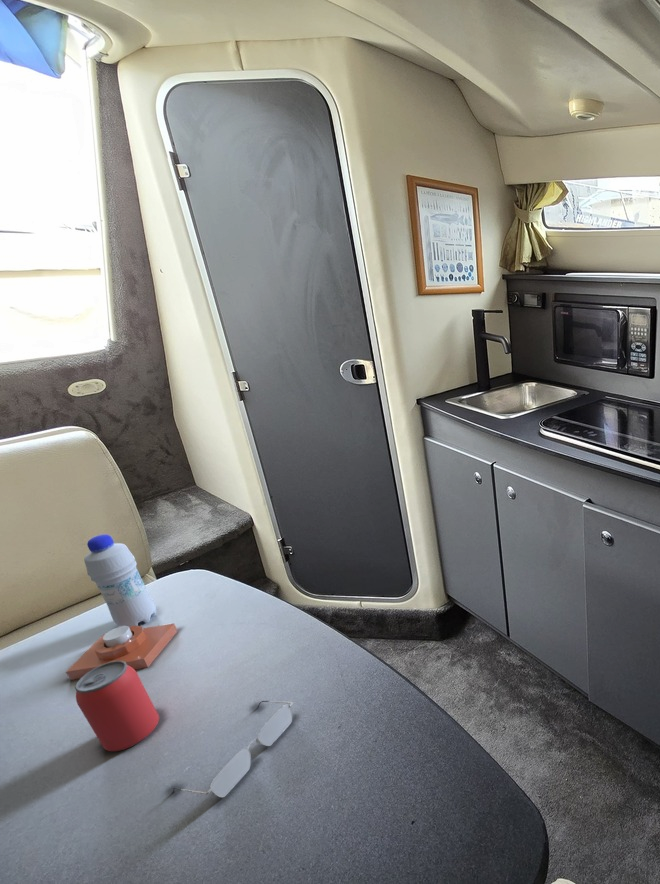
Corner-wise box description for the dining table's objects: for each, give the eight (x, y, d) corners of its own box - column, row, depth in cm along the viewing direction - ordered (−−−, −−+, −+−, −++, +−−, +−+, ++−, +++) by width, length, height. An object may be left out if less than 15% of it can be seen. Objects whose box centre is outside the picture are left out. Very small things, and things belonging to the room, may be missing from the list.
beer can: (104, 733, 76) (70, 675, 72) (159, 706, 80) (130, 650, 76) (104, 763, 72) (68, 703, 67) (162, 733, 76) (131, 674, 71)
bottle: (108, 630, 97) (63, 545, 90) (144, 607, 103) (105, 525, 96) (133, 635, 96) (89, 549, 88) (168, 611, 102) (130, 529, 94)
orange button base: (71, 681, 86) (60, 664, 84) (108, 643, 94) (99, 626, 93) (148, 668, 88) (140, 651, 86) (178, 632, 96) (170, 615, 95)
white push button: (101, 649, 88) (97, 641, 87) (115, 634, 91) (111, 627, 90) (124, 645, 88) (120, 638, 88) (137, 631, 92) (134, 624, 91)
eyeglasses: (216, 809, 65) (204, 788, 64) (172, 798, 67) (159, 778, 66) (299, 716, 77) (291, 697, 76) (260, 709, 80) (251, 691, 78)
